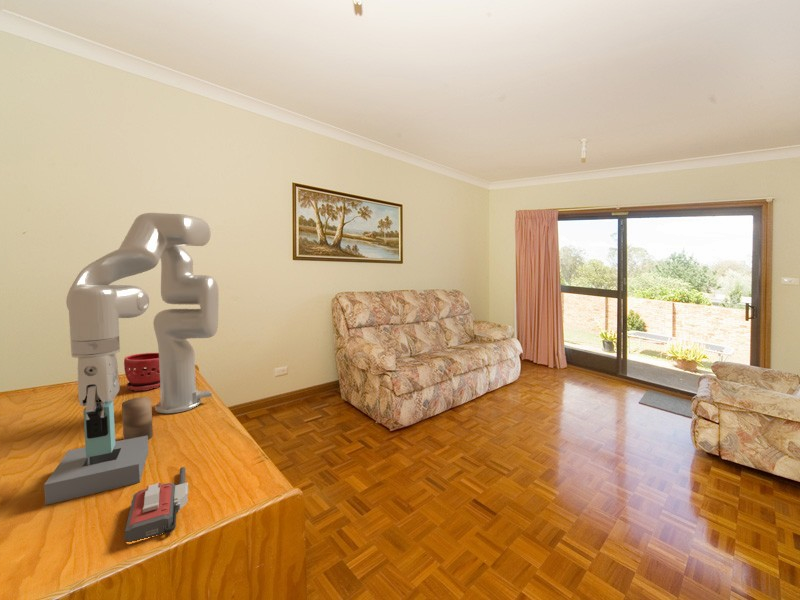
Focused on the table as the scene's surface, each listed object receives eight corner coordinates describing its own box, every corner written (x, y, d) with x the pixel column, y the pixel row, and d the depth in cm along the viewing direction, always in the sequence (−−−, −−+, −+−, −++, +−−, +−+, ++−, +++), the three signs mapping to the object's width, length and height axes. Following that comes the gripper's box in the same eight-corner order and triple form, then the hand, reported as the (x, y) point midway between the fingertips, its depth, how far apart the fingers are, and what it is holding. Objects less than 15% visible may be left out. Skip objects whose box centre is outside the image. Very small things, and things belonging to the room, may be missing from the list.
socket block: (148, 451, 82) (147, 435, 82) (139, 482, 70) (138, 463, 70) (70, 467, 75) (69, 450, 74) (45, 505, 63) (44, 484, 62)
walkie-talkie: (188, 532, 57) (188, 472, 74) (187, 508, 57) (188, 453, 74) (121, 554, 53) (138, 485, 70) (120, 528, 52) (137, 465, 69)
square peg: (115, 444, 74) (113, 400, 74) (111, 452, 71) (109, 406, 70) (91, 448, 72) (88, 403, 72) (86, 457, 69) (83, 410, 68)
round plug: (154, 431, 92) (152, 395, 91) (151, 440, 87) (149, 403, 86) (126, 436, 89) (124, 399, 88) (121, 446, 84) (119, 407, 83)
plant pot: (145, 394, 119) (143, 361, 118) (116, 391, 122) (114, 358, 121) (177, 383, 132) (176, 352, 131) (150, 380, 135) (149, 350, 134)
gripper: (110, 352, 65) (115, 444, 66) (126, 338, 79) (130, 414, 81) (56, 357, 61) (62, 454, 62) (83, 341, 75) (88, 420, 77)
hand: (100, 431), depth 71 cm, fingers closed on square peg, 4 cm apart
